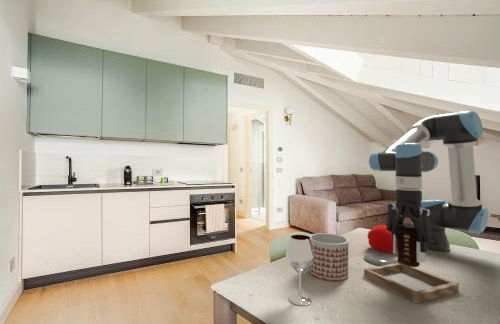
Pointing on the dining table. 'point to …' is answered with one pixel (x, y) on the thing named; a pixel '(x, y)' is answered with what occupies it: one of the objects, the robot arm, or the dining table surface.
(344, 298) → the dining table surface
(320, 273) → the planter
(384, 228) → the tomato
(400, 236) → the coffee cup
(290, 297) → the wineglass
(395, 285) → the square wooden frame
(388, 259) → the flat grey disc
